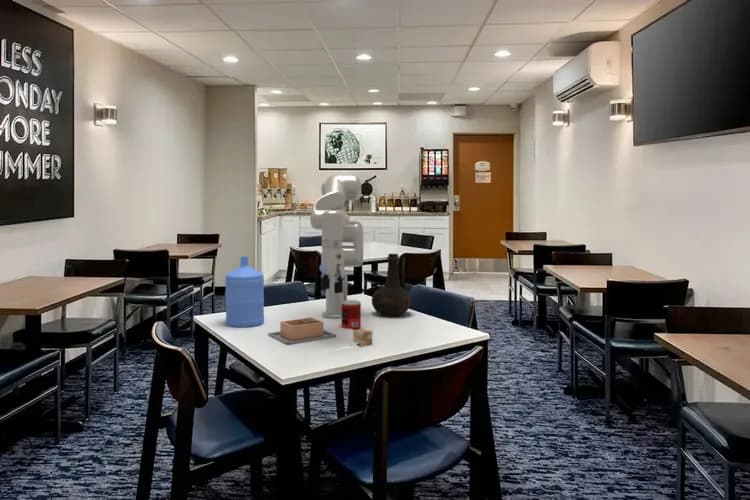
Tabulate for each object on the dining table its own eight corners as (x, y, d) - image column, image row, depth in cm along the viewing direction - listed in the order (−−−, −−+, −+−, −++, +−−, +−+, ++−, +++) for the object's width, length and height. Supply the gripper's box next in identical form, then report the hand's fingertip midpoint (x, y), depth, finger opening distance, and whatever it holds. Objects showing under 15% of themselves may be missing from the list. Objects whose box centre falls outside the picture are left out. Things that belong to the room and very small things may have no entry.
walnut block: (311, 331, 205) (311, 318, 205) (318, 334, 201) (318, 321, 200) (300, 333, 202) (300, 320, 202) (306, 335, 198) (306, 322, 198)
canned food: (363, 327, 219) (363, 300, 218) (356, 331, 211) (356, 304, 210) (346, 325, 221) (346, 299, 220) (338, 330, 214) (338, 303, 213)
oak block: (364, 341, 198) (364, 328, 197) (372, 344, 194) (372, 331, 193) (353, 343, 195) (353, 330, 194) (361, 346, 191) (361, 333, 190)
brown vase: (366, 311, 249) (366, 252, 246) (400, 309, 255) (401, 251, 253) (380, 320, 232) (381, 256, 229) (417, 317, 239) (418, 255, 236)
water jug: (265, 326, 218) (265, 258, 216) (226, 328, 214) (225, 259, 211) (262, 318, 233) (262, 254, 230) (225, 320, 229) (224, 255, 226)
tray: (314, 330, 212) (314, 326, 212) (336, 339, 199) (336, 334, 199) (268, 337, 201) (268, 333, 200) (287, 347, 188) (287, 342, 188)
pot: (311, 331, 207) (311, 317, 207) (323, 336, 200) (323, 321, 200) (280, 336, 200) (280, 321, 199) (291, 341, 192) (291, 326, 192)
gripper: (353, 246, 190) (352, 293, 191) (329, 242, 204) (329, 286, 206) (334, 246, 186) (334, 295, 187) (312, 243, 200) (312, 288, 201)
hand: (331, 290), depth 196 cm, fingers open, 9 cm apart
